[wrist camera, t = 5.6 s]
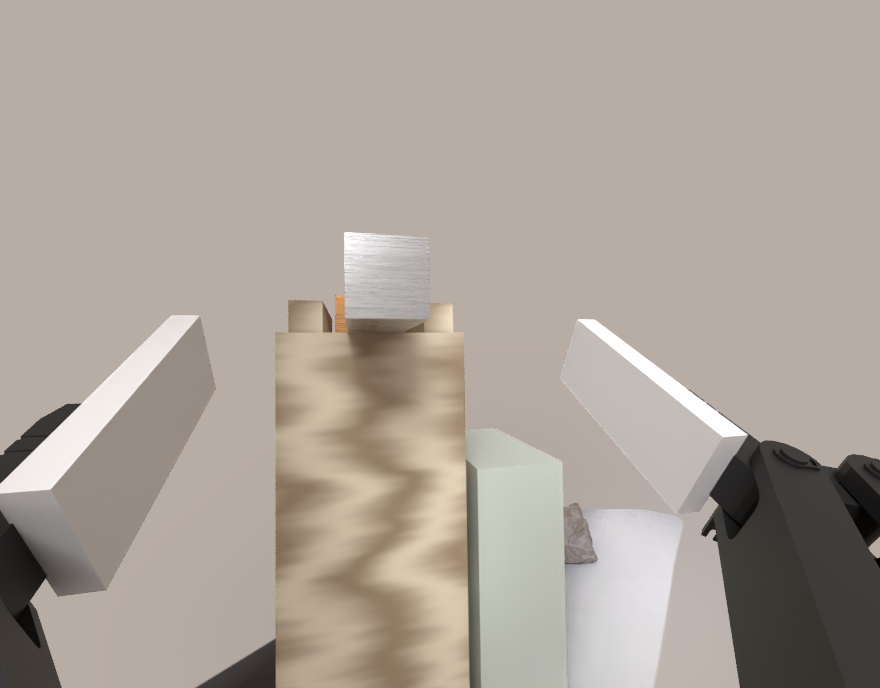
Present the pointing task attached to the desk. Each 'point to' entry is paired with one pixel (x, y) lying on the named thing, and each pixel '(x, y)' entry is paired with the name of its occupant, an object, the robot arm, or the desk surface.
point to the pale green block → (514, 564)
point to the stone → (577, 537)
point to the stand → (370, 505)
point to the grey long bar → (383, 284)
